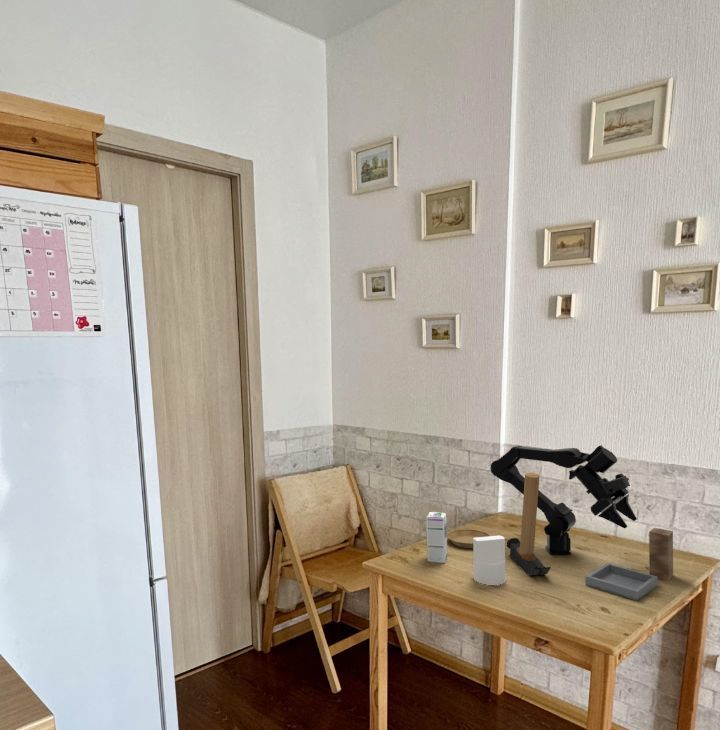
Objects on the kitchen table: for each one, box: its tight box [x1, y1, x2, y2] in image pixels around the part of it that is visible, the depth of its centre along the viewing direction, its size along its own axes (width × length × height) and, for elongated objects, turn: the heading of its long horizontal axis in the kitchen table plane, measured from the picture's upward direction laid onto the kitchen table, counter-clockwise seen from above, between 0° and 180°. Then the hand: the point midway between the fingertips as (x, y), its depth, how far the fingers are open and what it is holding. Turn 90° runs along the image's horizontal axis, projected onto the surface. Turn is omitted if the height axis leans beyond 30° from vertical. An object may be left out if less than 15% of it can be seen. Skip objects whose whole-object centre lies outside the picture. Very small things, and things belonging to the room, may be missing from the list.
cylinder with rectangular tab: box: [472, 535, 506, 586], centre depth 158 cm, size 9×9×12 cm
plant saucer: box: [447, 528, 491, 549], centre depth 189 cm, size 15×15×3 cm
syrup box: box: [425, 511, 448, 564], centre depth 173 cm, size 6×6×14 cm
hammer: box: [506, 472, 552, 576], centre depth 164 cm, size 20×5×30 cm, turn 7°
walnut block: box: [648, 527, 674, 582], centre depth 158 cm, size 5×5×13 cm
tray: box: [584, 562, 659, 602], centre depth 152 cm, size 14×14×2 cm
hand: (631, 523), depth 163 cm, fingers open, 9 cm apart
